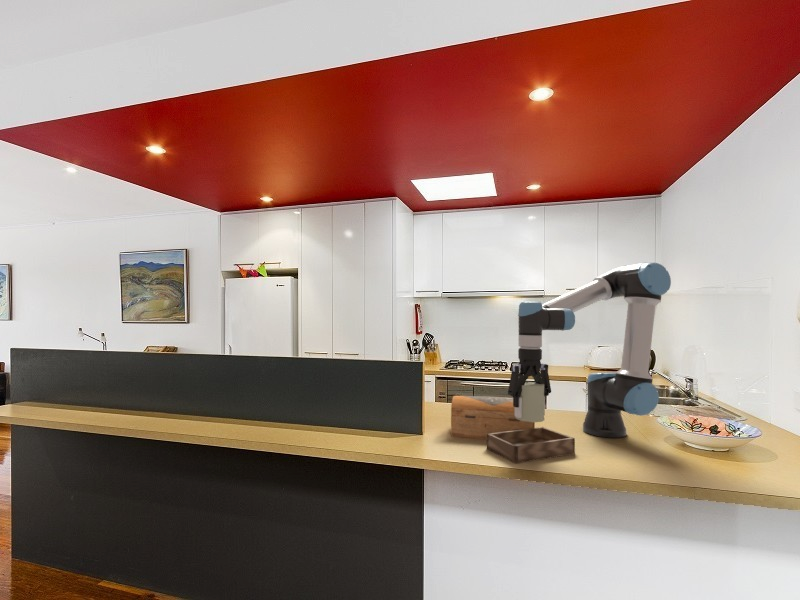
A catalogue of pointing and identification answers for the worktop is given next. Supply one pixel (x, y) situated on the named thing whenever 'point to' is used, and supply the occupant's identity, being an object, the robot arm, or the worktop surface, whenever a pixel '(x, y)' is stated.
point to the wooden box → (484, 416)
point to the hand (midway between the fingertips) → (529, 415)
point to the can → (532, 402)
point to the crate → (530, 444)
